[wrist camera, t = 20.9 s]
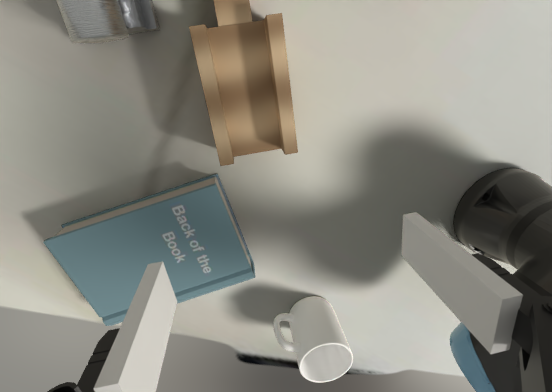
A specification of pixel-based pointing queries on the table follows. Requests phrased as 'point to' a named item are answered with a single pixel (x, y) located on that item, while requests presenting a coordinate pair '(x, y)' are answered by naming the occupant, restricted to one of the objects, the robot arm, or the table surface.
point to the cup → (316, 339)
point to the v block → (139, 16)
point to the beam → (245, 81)
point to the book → (155, 247)
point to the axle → (93, 20)
